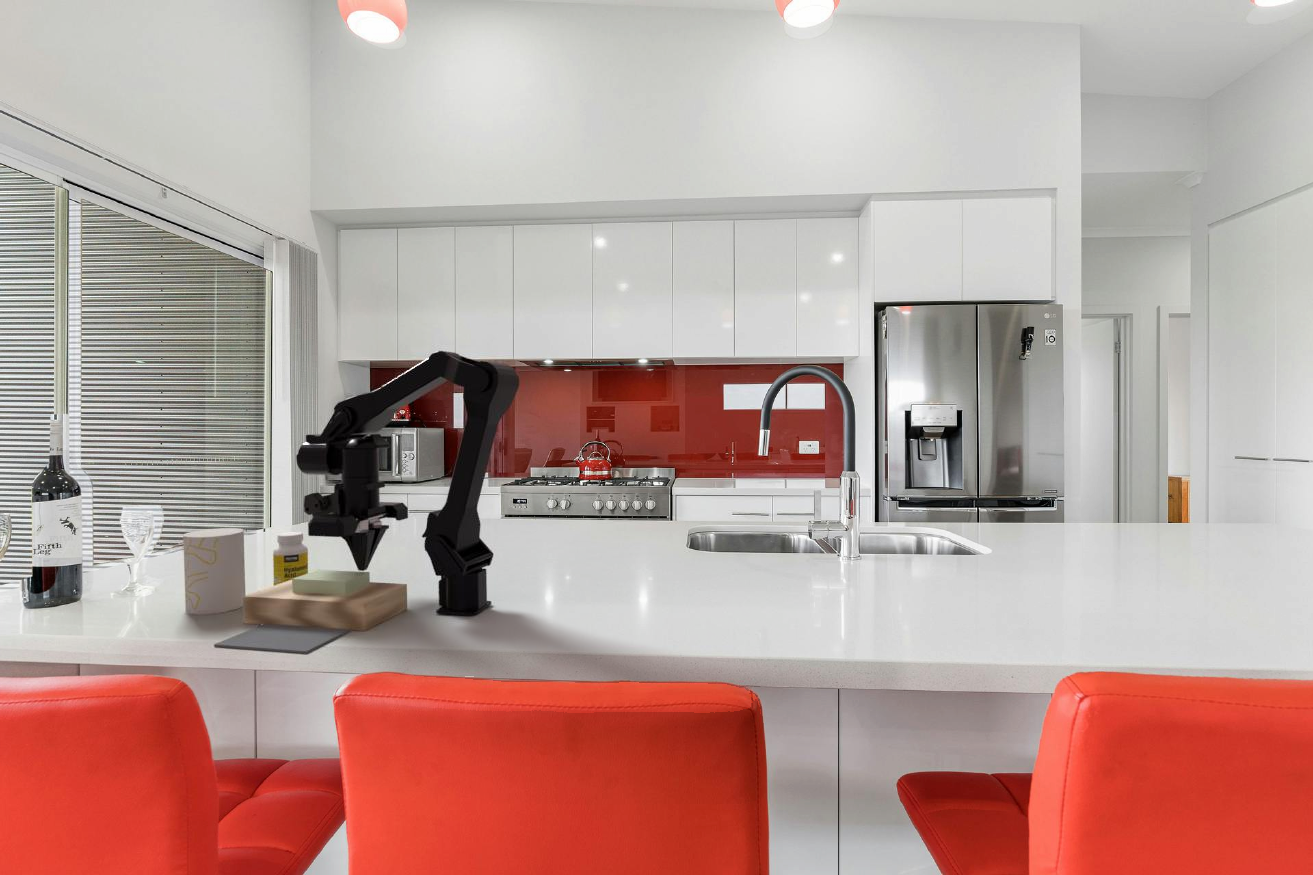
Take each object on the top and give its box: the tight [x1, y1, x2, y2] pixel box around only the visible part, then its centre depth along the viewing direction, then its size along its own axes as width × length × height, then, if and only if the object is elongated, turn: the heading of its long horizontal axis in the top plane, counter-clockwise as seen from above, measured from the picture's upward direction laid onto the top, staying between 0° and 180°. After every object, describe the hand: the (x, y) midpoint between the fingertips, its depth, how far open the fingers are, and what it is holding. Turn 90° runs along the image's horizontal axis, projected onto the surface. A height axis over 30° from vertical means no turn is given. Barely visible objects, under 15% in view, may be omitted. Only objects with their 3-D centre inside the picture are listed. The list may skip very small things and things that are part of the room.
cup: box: [182, 527, 246, 615], centre depth 111 cm, size 8×8×12 cm
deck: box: [242, 580, 408, 632], centre depth 106 cm, size 20×11×4 cm, turn 79°
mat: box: [213, 624, 351, 654], centre depth 96 cm, size 14×9×1 cm, turn 79°
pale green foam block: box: [292, 569, 371, 595], centre depth 107 cm, size 9×6×2 cm, turn 79°
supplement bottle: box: [272, 531, 309, 586], centre depth 122 cm, size 5×5×10 cm
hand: (362, 570), depth 115 cm, fingers closed
